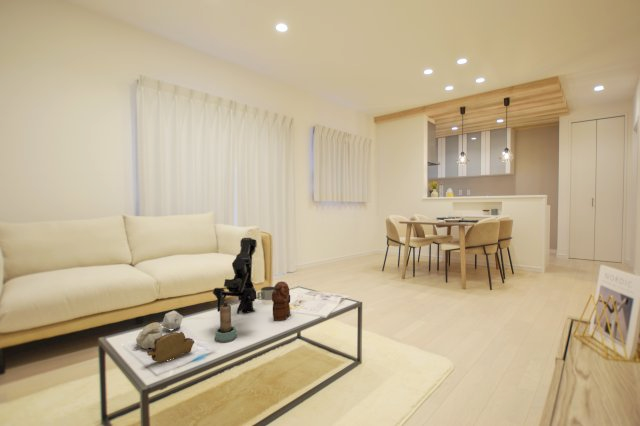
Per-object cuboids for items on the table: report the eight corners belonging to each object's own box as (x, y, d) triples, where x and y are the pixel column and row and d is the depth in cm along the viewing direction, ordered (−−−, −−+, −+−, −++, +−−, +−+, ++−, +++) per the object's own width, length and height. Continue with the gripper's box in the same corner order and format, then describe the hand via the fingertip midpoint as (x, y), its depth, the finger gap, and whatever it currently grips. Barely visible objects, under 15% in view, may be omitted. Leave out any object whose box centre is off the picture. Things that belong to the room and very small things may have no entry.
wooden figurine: (282, 322, 154) (282, 285, 154) (271, 320, 156) (270, 284, 156) (292, 314, 166) (292, 279, 165) (281, 312, 168) (281, 278, 167)
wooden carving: (190, 349, 127) (189, 324, 127) (195, 353, 124) (194, 327, 124) (145, 365, 116) (144, 337, 115) (149, 369, 112) (148, 341, 112)
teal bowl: (213, 335, 140) (213, 327, 140) (235, 332, 144) (234, 324, 143) (215, 344, 131) (215, 335, 131) (238, 340, 135) (238, 331, 135)
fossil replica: (143, 354, 124) (168, 347, 132) (146, 333, 124) (170, 327, 132) (129, 344, 131) (154, 337, 139) (131, 323, 131) (156, 318, 139)
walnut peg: (219, 335, 139) (219, 302, 138) (230, 333, 141) (230, 300, 140) (221, 339, 135) (220, 305, 134) (232, 337, 136) (231, 303, 136)
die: (158, 334, 143) (168, 319, 140) (158, 319, 149) (167, 305, 147) (177, 336, 148) (186, 321, 145) (175, 322, 154) (185, 307, 152)
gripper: (214, 270, 146) (200, 302, 135) (252, 272, 141) (241, 305, 131) (223, 282, 154) (211, 313, 144) (260, 285, 149) (249, 317, 139)
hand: (227, 312), depth 139 cm, fingers open, 9 cm apart
